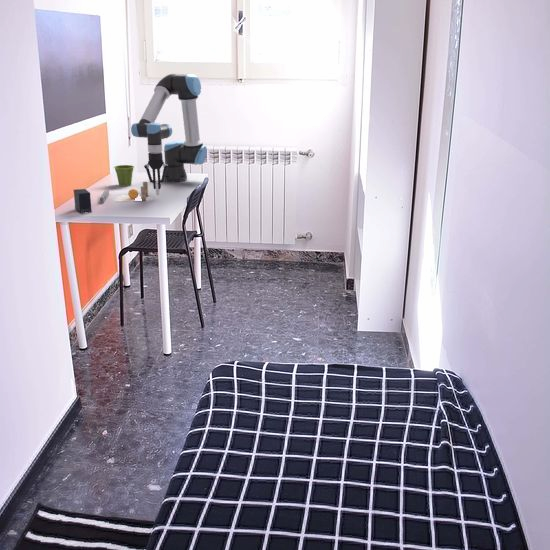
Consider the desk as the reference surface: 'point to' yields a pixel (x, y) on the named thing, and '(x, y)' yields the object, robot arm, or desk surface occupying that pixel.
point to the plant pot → (124, 174)
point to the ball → (133, 193)
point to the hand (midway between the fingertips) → (157, 194)
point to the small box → (82, 200)
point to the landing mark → (124, 199)
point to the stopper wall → (104, 196)
